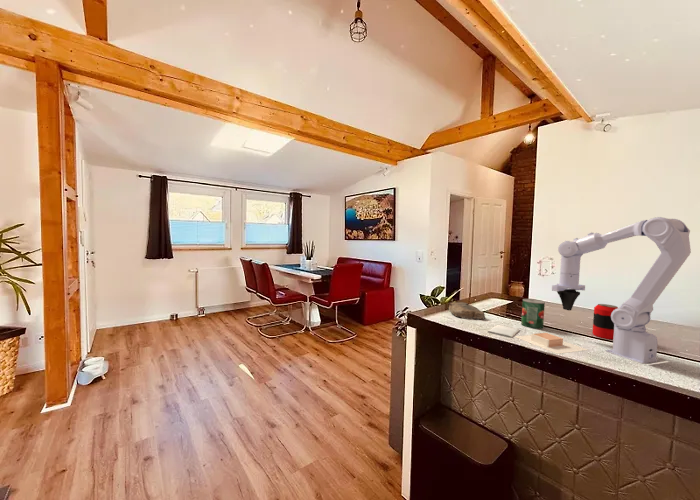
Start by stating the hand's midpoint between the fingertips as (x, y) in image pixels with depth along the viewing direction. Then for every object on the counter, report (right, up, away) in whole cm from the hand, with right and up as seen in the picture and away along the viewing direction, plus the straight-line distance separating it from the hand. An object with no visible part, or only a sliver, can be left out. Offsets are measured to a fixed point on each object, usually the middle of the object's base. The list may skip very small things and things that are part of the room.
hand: (567, 309), depth 107 cm
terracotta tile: (-10, -9, -7) cm, 15 cm away
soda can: (+17, -11, +3) cm, 20 cm away
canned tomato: (-5, -10, +13) cm, 17 cm away
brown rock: (-26, -9, +31) cm, 42 cm away
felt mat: (-12, -10, -7) cm, 18 cm away
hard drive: (-22, -10, +4) cm, 24 cm away
